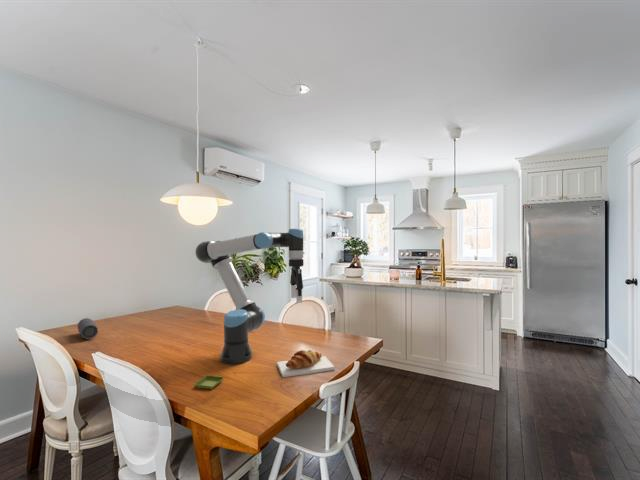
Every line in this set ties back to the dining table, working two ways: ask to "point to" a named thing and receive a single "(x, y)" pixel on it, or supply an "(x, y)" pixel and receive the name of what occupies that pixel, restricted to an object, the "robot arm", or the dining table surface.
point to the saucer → (208, 382)
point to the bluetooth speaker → (87, 328)
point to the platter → (306, 368)
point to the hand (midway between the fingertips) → (296, 300)
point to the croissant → (303, 359)
